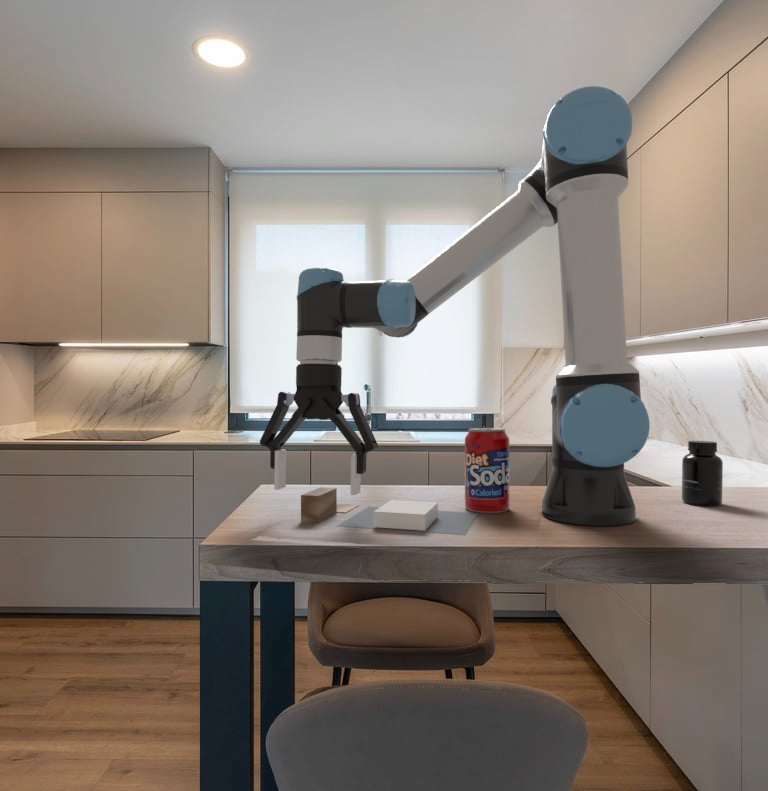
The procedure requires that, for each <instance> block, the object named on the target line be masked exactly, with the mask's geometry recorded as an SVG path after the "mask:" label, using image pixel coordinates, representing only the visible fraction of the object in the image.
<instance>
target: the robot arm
mask: <svg viewBox="0 0 768 791" xmlns="http://www.w3.org/2000/svg"><path fill="white" fill-rule="evenodd" d="M632 131H633V115H632V111H631V107H630V106H629V104H628V102H627V101H626V100H625V98H624V97H623V96H622V95H621V94H618V93H617V92H616V91H614V90H612V89H611V88H608V87H604V86H597V85H593V86H583V87H580V88H576V89H574V90H571V91H570V92H568V93H566V94H565V95H563V96H562V97H560V99H558V101H556V102H555V104H554V105H553V106H552V108H551V109H550V111H549V113H548V114H547V118H546V121H545V123H544V126H543V129H542V136H543V139H542V149H541V157H540V160H539V162H538V163H537V165H535V167H534V168H533V169H532V171H531V172H530V173H528V175H527V176H525V177H524V178H523V179H521V180H520V181H519V183H518V187H517V190H516V192H515V193H514V194H512V195H511V196H510V197H508V198H507V199H506V200H505V201H503V202H502V203H501V204H499V206H496V208H495V209H493V210H492V211H491V212H489V213H488V214H487V215H485V216H484V217H483V218H482V219H481V220H479V221H478V222H477V223H476V224H474V225H473V226H472V227H470V228H469V229H468V230H467V231H466V232H464V233H463V234H462V235H461V236H459V237H458V238H457V239H455V240H454V241H453V242H452V243H450V244H449V245H448V246H447V247H445V249H443V250H442V251H440V252H439V253H438V254H436V255H435V256H434V257H433V258H431V259H430V260H429V261H428V262H427V263H426V264H423V266H422V267H420V268H419V269H418V270H417V271H415V272H414V273H413V274H411V276H409V277H408V278H406V279H404V280H396V279H395V280H394V278H393V279H386V280H365V281H362V280H361V281H347V280H345V279H344V275H343V273H342V272H341V271H340V270H337V269H334V268H330V267H329V268H327V267H325V268H323V267H312V268H311V267H310V268H306V269H304V270H302V271H301V272H300V273H299V275H298V285H297V295H296V303H297V304H296V307H297V308H296V310H297V311H296V314H297V315H296V318H297V322H296V326H297V327H296V328H297V330H296V331H297V332H296V337H297V338H296V353H295V355H296V358H295V359H296V360H297V362H299V364H297V366H296V367H295V368H296V371H295V372H296V374H295V386H296V391H295V393H291V392H289V391H279V392H278V394H277V401H276V406H275V408H274V410H273V413H272V414H271V416H270V419H269V421H268V423H267V424H266V427H265V430H264V431H263V433H262V436H261V438H260V440H259V444H260V445H261V446H262V447H266V448H268V449H269V450H270V452H269V453H270V457H269V458H270V460H269V461H270V462H269V466H270V469H272V470H274V478H273V480H274V481H273V482H274V485H273V486H274V490H282V489H284V488H286V486H287V484H286V483H287V481H286V479H287V449H283V448H284V445H285V444H286V443H287V441H288V440H289V439H290V438H291V436H292V435H293V434H294V433H295V432H296V431H297V429H298V428H299V427H300V426H301V424H302V423H303V422H304V421H305V420H320V421H321V420H324V421H325V420H326V421H327V420H330V422H332V423H333V424H334V425H335V426H336V428H337V429H338V431H339V432H340V433H341V434H342V436H343V437H344V439H345V440H346V441H347V443H348V444H349V445H350V446H351V448H352V450H354V452H355V453H351V455H350V495H351V496H356V495H358V494H360V493H361V484H362V483H361V481H362V480H361V479H362V478H361V477H362V476H361V475H363V474H366V472H367V455H368V453H369V452H371V451H375V450H377V449H378V447H379V445H378V442H377V439H376V437H375V436H374V434H373V431H372V428H371V426H370V424H369V422H368V420H367V418H366V416H365V413H364V411H363V409H362V406H361V399H360V398H361V396H360V393H358V392H350V393H347V394H343V393H342V373H343V372H342V371H343V370H342V369H343V368H342V366H341V365H340V364H339V363H341V362H342V359H343V356H342V355H343V351H342V350H343V329H344V328H347V329H348V328H349V329H352V328H356V329H357V328H358V329H360V328H361V329H362V328H367V329H369V328H370V329H371V328H373V329H375V330H378V331H379V332H382V333H383V334H384V335H385V336H388V337H390V338H405V337H408V336H409V335H411V334H412V333H413V332H414V331H415V330H416V328H417V327H418V324H419V323H420V322H421V321H422V320H424V319H425V318H426V317H427V316H428V315H430V314H431V313H432V312H434V311H435V310H436V309H437V308H438V307H440V306H442V304H444V303H445V302H446V301H448V300H450V298H452V297H453V296H454V295H455V294H457V293H458V292H459V291H462V289H463V288H466V286H467V285H469V284H470V283H472V281H473V280H475V279H477V278H478V277H479V276H480V275H481V274H483V273H484V272H485V271H487V270H488V269H489V268H491V267H492V266H493V265H494V264H496V263H497V262H499V261H500V260H501V259H502V258H504V257H505V256H506V255H507V254H509V253H510V252H511V251H513V250H514V249H516V248H517V247H519V245H520V244H522V243H523V242H524V241H525V240H527V239H528V238H530V237H531V236H532V235H533V234H535V233H536V232H538V231H539V230H540V229H542V227H546V228H552V227H554V226H555V225H556V224H557V231H558V249H559V266H560V267H559V269H560V284H561V289H560V290H561V304H562V306H561V307H562V322H563V340H564V357H565V358H564V359H565V360H564V362H565V363H564V364H565V365H564V366H563V368H562V369H561V370H560V371H559V372H558V373H557V374H556V375H555V385H554V386H553V388H552V395H551V397H550V404H551V405H552V406H551V413H552V414H551V417H552V418H551V419H552V420H551V422H552V424H551V425H552V427H551V438H552V439H551V440H552V441H551V445H552V446H551V453H552V455H551V456H552V458H551V459H552V460H551V461H552V467H551V468H552V469H551V473H550V476H549V478H548V479H549V480H548V483H547V485H546V489H545V492H544V494H543V497H542V501H541V514H542V516H544V517H546V518H547V519H550V520H553V521H557V522H561V523H562V522H563V523H569V524H575V525H585V526H599V527H600V526H601V527H602V526H604V527H605V526H623V525H627V524H628V525H629V524H632V523H634V522H636V520H637V519H636V517H637V516H636V515H637V514H636V512H637V511H636V510H637V507H636V504H635V501H634V498H633V496H632V493H631V490H630V486H629V484H628V481H627V478H626V475H625V463H627V462H629V461H631V460H632V459H633V458H634V457H636V456H637V455H638V454H639V453H640V452H641V450H643V448H644V446H645V444H646V443H647V440H648V437H649V434H650V433H649V432H650V425H651V424H650V417H649V414H648V410H647V409H646V407H645V404H644V402H643V401H642V395H641V382H640V379H641V378H640V371H639V370H638V369H637V368H636V367H635V366H634V365H632V364H631V363H630V362H629V360H628V356H627V355H628V353H627V338H626V318H625V301H624V299H625V298H624V282H623V280H624V279H623V266H622V247H621V245H622V244H621V231H620V230H621V229H620V228H621V227H620V210H619V198H620V197H621V195H622V194H623V193H624V192H625V191H626V190H627V188H628V187H629V167H628V165H629V164H628V152H627V151H628V150H627V149H628V148H627V146H628V144H627V143H628V142H629V140H630V138H631V136H632ZM293 403H295V405H296V406H297V409H296V410H294V412H293V413H292V415H291V417H290V418H289V420H288V421H287V422H286V424H285V425H284V426H283V427H282V429H281V430H280V428H281V426H282V424H283V422H284V420H285V418H286V415H287V414H288V411H289V409H290V406H292V404H293ZM342 404H344V405H345V406H346V407H348V408H349V413H350V414H351V417H352V418H353V419H352V420H354V423H355V426H356V427H357V430H358V432H359V434H360V436H361V437H360V436H359V435H358V434H357V433H356V431H355V429H353V427H352V426H351V424H350V423H349V422H348V420H347V419H346V418H345V415H344V413H342V411H341V410H340V407H341V405H342ZM279 430H280V431H279Z"/></svg>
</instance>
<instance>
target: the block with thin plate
mask: <svg viewBox="0 0 768 791" xmlns="http://www.w3.org/2000/svg"><path fill="white" fill-rule="evenodd" d="M337 493H338V491H337V487H317V488H315V489H313V490H309V491H308V492H305V493H303V494H301V495H300V523H303V524H304V523H305V524H306V523H308V524H320V523H322V522H324V521H326V520H327V519H330V518H331V517H333V516H335V515H336V514H347V513H349V512H351V511H353V510H354V509H356V508H358V507H359V506H360V505H359V504H348V503H337V496H338V495H337Z"/></svg>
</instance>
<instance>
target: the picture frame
mask: <svg viewBox="0 0 768 791" xmlns="http://www.w3.org/2000/svg"><path fill="white" fill-rule="evenodd" d="M438 511H439V502H436V501H434V502H433V501H417V500H400V499H399V500H398V499H397V500H395V499H390V500H389V501H387V502H386V503H384V504H383V505H382V506H380V508H378V509H377V510H375V511H374V527H378V528H393V529H407V530H423V531H425V530H426V529H427V528H428V527H429V526H430V525H431V524H432V523H433V522H434V521H435V520H436V518H437V517H438Z"/></svg>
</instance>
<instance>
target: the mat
mask: <svg viewBox="0 0 768 791" xmlns="http://www.w3.org/2000/svg"><path fill="white" fill-rule="evenodd" d="M380 507H381V506H380ZM380 507H379V506H378V507H377V506H367V507H365V508H364V509H362V510H361V511H359V512H358V513H356V514H354V515H352V516H350V517H348V518H347V519H346V520H344V521H343V522H341V523H339V524H337V525H336V527H342V528H356V529H357V528H358V529H373V530H385V531H399V532H400V531H401V532H412V533H413V532H417V533H429V534H431V533H432V534H443V535H457V536H460V535H461V536H466V535H467V533H468V532H469V530H470V528H471V526H472V525H473V524H474V522H475V520H476V518H477V517H478V515H479V514H480V513H478V512H471V511H469V512H468V511H467V512H466V511H452V510H438V517H437V518H436V520H435V521H434V522H433V523H432V524H431V525H430V526H429V527H428V528H427V529H426V530H425V531H423V530H407V529H393V528H378V527H374V511H375V510H377V509H378V508H380Z"/></svg>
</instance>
